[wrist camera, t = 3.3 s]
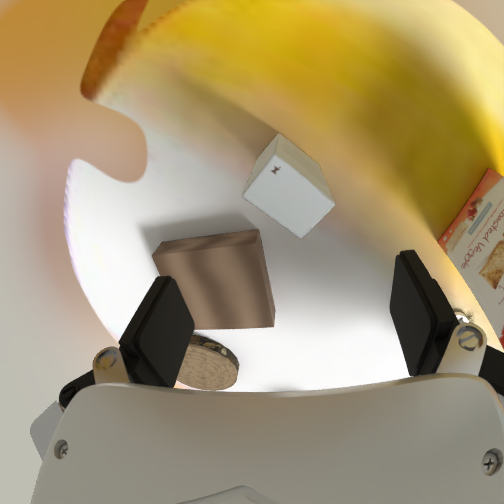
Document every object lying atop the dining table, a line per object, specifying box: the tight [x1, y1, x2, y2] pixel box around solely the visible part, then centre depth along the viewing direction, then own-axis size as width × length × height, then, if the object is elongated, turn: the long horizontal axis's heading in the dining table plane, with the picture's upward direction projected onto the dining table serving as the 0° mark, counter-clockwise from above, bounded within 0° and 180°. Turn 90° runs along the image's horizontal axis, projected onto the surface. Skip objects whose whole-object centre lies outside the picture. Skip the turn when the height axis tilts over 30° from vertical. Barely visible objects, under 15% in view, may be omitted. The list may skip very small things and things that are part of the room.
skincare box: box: [242, 133, 335, 239], centre depth 25 cm, size 6×4×12 cm
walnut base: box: [152, 229, 275, 330], centre depth 39 cm, size 14×14×4 cm
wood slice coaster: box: [177, 335, 239, 391], centre depth 51 cm, size 16×16×3 cm
